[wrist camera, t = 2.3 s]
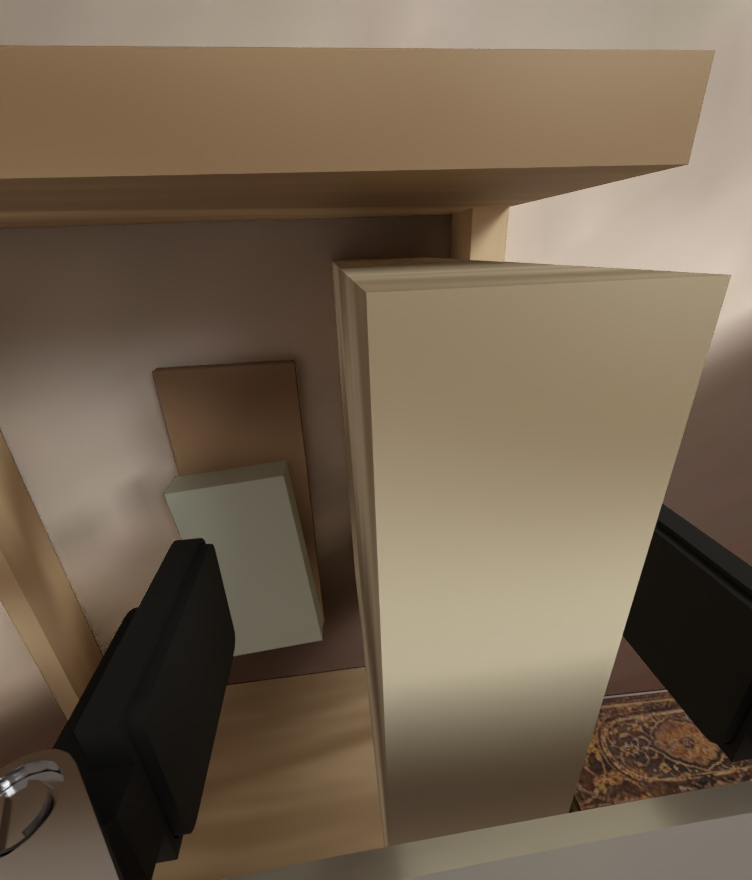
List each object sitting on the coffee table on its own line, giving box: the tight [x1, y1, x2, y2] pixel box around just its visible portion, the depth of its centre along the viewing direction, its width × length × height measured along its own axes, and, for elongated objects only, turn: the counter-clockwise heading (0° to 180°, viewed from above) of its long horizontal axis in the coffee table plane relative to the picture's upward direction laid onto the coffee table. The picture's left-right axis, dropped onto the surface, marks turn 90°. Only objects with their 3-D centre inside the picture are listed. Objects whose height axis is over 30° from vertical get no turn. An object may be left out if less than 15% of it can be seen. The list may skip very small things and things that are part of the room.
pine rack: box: [0, 46, 715, 880], centre depth 13 cm, size 22×17×8 cm
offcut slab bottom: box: [152, 360, 324, 624], centre depth 17 cm, size 12×4×1 cm, turn 2°
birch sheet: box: [332, 257, 731, 847], centre depth 11 cm, size 12×3×11 cm, turn 2°
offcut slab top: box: [164, 460, 322, 656], centre depth 16 cm, size 8×4×1 cm, turn 7°
